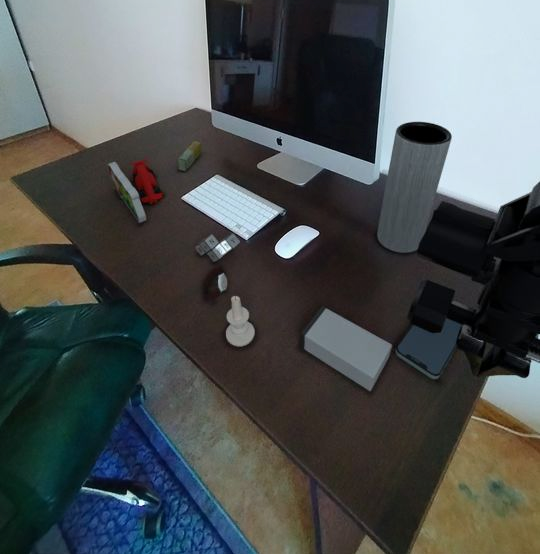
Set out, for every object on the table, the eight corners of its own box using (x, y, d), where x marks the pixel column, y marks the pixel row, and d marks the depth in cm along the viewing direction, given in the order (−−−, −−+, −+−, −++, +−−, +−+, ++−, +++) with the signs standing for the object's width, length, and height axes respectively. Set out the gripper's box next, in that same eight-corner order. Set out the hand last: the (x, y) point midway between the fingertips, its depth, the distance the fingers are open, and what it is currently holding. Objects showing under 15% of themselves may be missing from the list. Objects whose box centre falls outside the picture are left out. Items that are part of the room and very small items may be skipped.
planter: (412, 223, 90) (438, 119, 74) (428, 252, 82) (462, 142, 66) (371, 226, 90) (389, 122, 74) (384, 255, 82) (406, 145, 66)
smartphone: (472, 319, 66) (438, 378, 57) (469, 325, 67) (436, 384, 58) (431, 297, 71) (393, 349, 62) (428, 302, 72) (391, 354, 63)
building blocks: (208, 265, 84) (225, 256, 78) (193, 246, 83) (209, 236, 77) (223, 251, 87) (240, 242, 81) (209, 233, 87) (225, 223, 81)
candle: (238, 317, 70) (233, 279, 64) (260, 330, 67) (257, 293, 61) (220, 337, 67) (212, 299, 60) (242, 352, 64) (236, 314, 58)
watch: (222, 303, 73) (219, 291, 71) (199, 301, 73) (196, 289, 71) (231, 274, 79) (229, 262, 77) (209, 272, 79) (207, 260, 77)
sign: (148, 224, 94) (138, 191, 88) (141, 226, 93) (131, 194, 87) (120, 186, 108) (110, 156, 102) (114, 188, 108) (104, 158, 102)
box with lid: (392, 344, 60) (322, 305, 67) (373, 378, 55) (300, 333, 62) (388, 358, 62) (321, 319, 69) (370, 391, 58) (300, 346, 65)
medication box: (186, 171, 114) (185, 160, 111) (178, 170, 114) (176, 159, 112) (201, 152, 123) (201, 142, 120) (194, 151, 123) (193, 140, 121)
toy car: (143, 207, 99) (138, 192, 96) (132, 177, 112) (128, 162, 109) (165, 201, 101) (161, 186, 98) (152, 172, 114) (148, 157, 111)
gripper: (634, 276, 38) (567, 359, 47) (444, 218, 47) (419, 298, 56) (647, 361, 31) (564, 440, 40) (419, 274, 39) (395, 355, 49)
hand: (476, 372), depth 46 cm, fingers closed
